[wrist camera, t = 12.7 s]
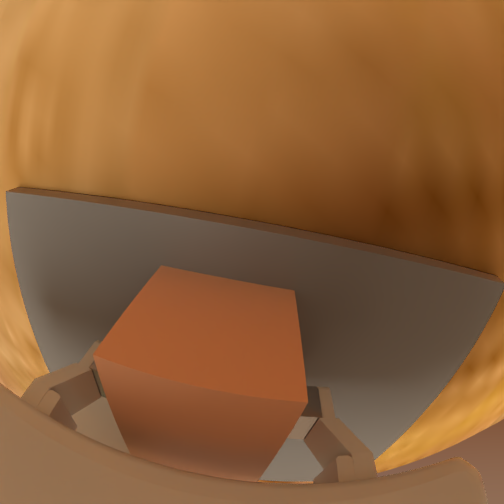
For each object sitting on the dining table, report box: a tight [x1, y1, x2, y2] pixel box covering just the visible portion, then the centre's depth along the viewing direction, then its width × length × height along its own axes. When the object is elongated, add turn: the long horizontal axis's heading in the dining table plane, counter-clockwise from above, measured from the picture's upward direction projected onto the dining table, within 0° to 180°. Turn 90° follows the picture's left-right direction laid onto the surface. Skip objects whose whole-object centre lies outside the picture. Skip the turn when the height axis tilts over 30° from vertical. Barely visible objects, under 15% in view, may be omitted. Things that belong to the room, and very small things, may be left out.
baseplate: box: [6, 187, 504, 481], centre depth 11 cm, size 26×22×6 cm
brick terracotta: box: [93, 265, 308, 482], centre depth 9 cm, size 5×8×5 cm, turn 170°
